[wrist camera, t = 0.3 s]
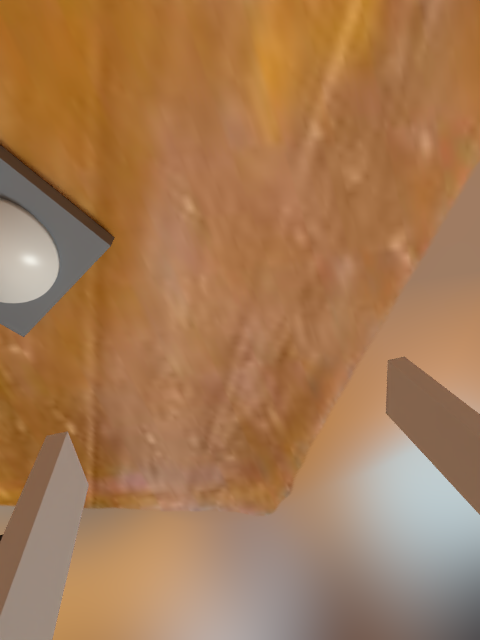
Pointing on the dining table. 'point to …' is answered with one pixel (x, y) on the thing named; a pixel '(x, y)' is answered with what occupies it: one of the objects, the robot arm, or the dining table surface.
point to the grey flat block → (39, 245)
